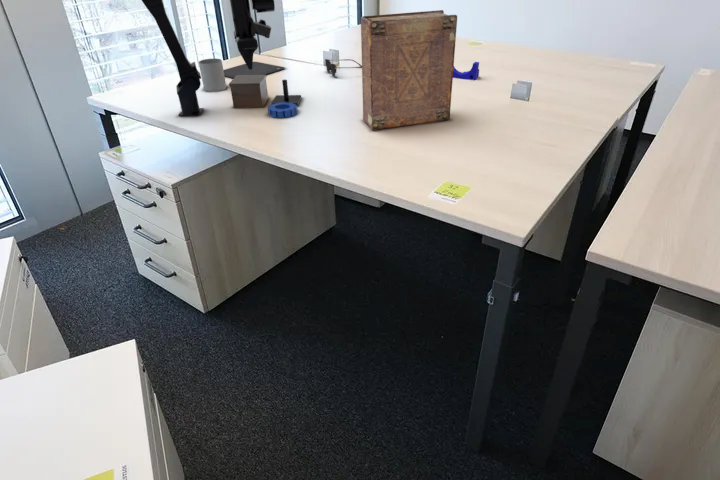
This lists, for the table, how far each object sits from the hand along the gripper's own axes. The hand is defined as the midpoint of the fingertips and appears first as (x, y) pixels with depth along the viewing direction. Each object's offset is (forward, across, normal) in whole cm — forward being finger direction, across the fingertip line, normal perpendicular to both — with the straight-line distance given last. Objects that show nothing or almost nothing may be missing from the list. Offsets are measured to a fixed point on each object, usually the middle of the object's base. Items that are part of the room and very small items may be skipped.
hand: (249, 65), depth 158 cm
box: (+13, +3, +1) cm, 13 cm away
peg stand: (+13, -1, -11) cm, 17 cm away
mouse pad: (+13, +46, -2) cm, 48 cm away
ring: (+13, -12, -8) cm, 19 cm away
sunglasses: (+14, +29, -41) cm, 52 cm away
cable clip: (+14, +7, -81) cm, 82 cm away
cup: (+13, +25, +13) cm, 31 cm away
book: (+14, -31, -44) cm, 55 cm away
